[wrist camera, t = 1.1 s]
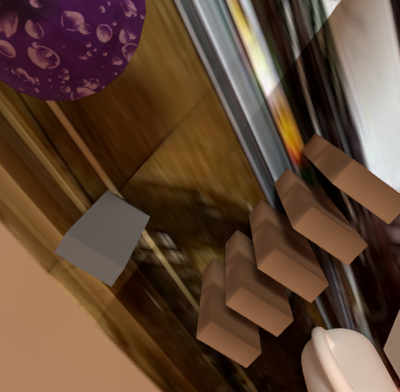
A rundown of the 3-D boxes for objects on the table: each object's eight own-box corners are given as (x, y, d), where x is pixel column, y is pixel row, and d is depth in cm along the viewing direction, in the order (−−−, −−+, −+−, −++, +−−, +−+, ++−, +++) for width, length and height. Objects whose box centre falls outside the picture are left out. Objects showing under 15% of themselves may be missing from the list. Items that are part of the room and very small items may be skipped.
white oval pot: (272, 318, 39) (288, 400, 29) (343, 288, 37) (384, 365, 28) (317, 391, 42) (345, 486, 33) (385, 367, 40) (435, 460, 31)
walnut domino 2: (342, 180, 33) (388, 224, 24) (301, 150, 33) (332, 183, 23) (357, 163, 33) (410, 201, 23) (315, 133, 32) (353, 159, 23)
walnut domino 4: (288, 241, 36) (310, 302, 26) (248, 215, 35) (257, 268, 26) (301, 227, 35) (328, 284, 26) (261, 199, 34) (274, 248, 25)
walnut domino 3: (314, 212, 35) (347, 265, 25) (273, 184, 34) (292, 228, 24) (328, 196, 34) (367, 245, 25) (287, 167, 33) (311, 206, 24)
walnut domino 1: (241, 294, 38) (246, 367, 29) (203, 270, 38) (196, 338, 28) (252, 282, 38) (261, 352, 28) (214, 257, 37) (210, 321, 28)
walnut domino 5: (264, 269, 37) (277, 336, 28) (225, 243, 36) (225, 304, 27) (275, 255, 36) (293, 320, 27) (236, 229, 36) (241, 286, 26)
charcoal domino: (140, 231, 36) (111, 286, 27) (98, 204, 36) (54, 252, 26) (150, 216, 36) (124, 268, 26) (108, 189, 35) (65, 233, 26)
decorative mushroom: (134, 117, 33) (66, 153, 18) (7, 53, 31) (-171, 39, 17) (193, -23, 28) (162, -114, 14) (48, -103, 27) (-141, -288, 13)
